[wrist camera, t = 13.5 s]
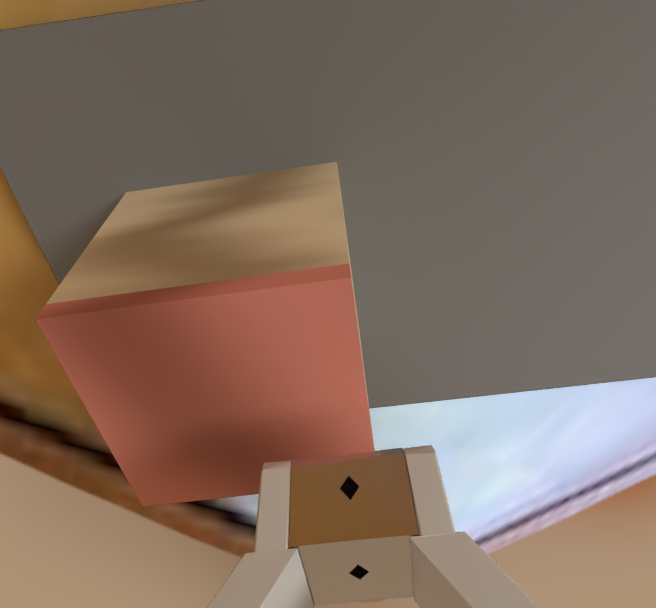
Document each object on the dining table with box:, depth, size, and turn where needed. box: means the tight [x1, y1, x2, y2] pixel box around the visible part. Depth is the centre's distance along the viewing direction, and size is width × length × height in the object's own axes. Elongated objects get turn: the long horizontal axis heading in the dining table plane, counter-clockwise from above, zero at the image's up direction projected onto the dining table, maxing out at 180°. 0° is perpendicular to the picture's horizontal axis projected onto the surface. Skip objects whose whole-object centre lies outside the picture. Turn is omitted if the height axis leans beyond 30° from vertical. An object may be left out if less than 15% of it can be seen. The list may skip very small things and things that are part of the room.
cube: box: [35, 162, 374, 507], centre depth 14 cm, size 6×6×6 cm
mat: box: [0, 0, 656, 408], centre depth 16 cm, size 22×14×1 cm, turn 97°
